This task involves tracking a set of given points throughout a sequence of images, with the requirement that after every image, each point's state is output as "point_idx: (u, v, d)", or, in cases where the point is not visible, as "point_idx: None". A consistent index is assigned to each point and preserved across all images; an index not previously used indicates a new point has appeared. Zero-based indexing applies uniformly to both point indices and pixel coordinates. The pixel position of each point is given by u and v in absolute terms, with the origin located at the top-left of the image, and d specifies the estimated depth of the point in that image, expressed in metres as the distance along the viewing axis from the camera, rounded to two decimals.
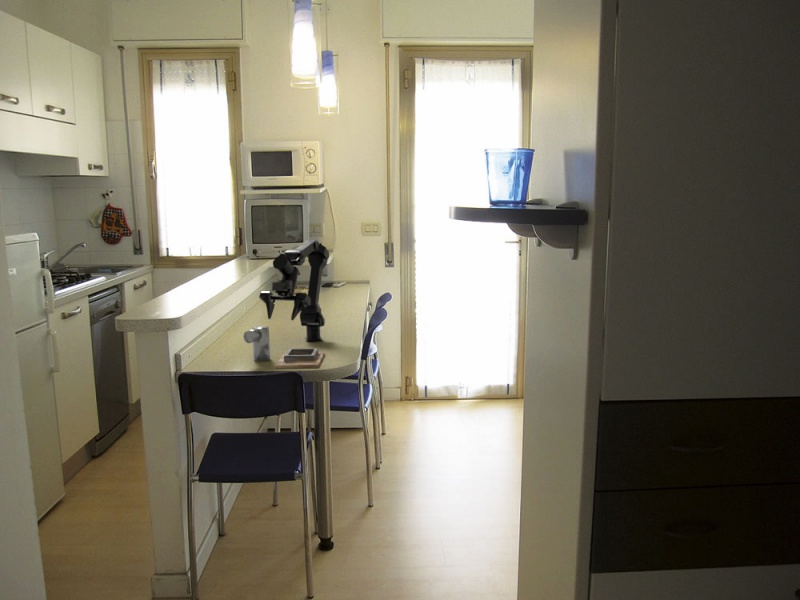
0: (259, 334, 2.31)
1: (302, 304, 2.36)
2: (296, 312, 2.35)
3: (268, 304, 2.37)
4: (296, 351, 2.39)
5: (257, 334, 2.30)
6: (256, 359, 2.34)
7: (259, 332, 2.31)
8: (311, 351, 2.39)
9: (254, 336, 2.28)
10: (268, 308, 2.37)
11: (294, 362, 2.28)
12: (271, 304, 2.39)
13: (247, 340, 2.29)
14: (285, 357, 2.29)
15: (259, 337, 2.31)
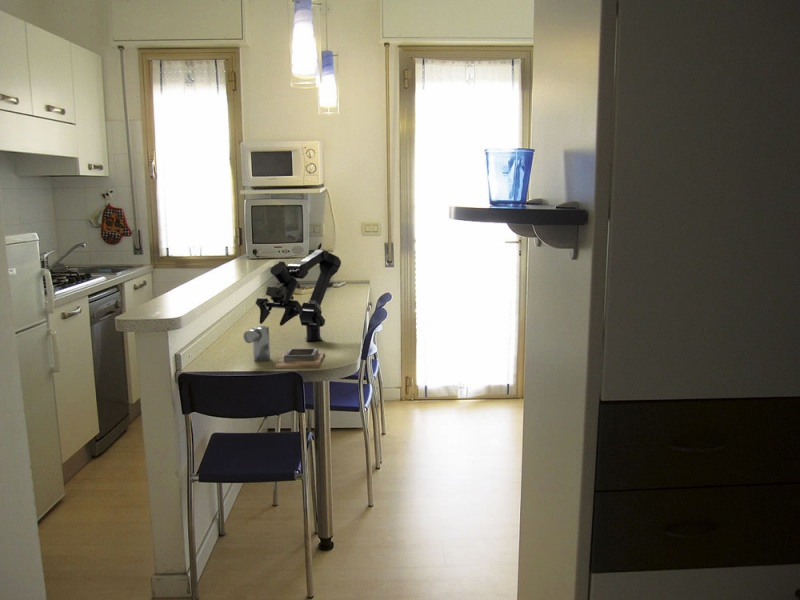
0: (259, 334, 2.31)
1: (293, 312, 2.40)
2: (286, 318, 2.39)
3: (262, 309, 2.43)
4: (296, 351, 2.39)
5: (257, 334, 2.30)
6: (256, 359, 2.34)
7: (259, 332, 2.31)
8: (311, 351, 2.39)
9: (254, 336, 2.28)
10: (261, 313, 2.43)
11: (294, 362, 2.28)
12: (266, 310, 2.45)
13: (247, 340, 2.29)
14: (285, 357, 2.29)
15: (259, 337, 2.31)
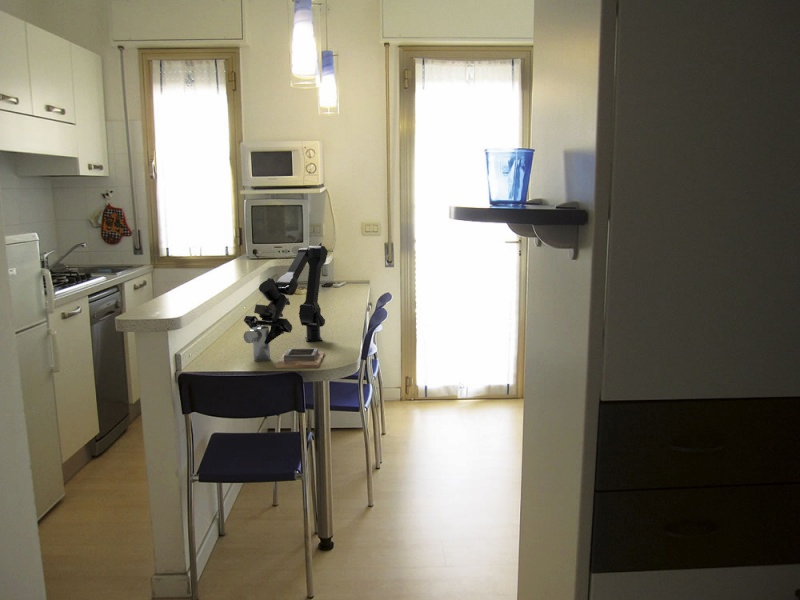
0: (259, 334, 2.31)
1: (279, 330, 2.35)
2: (271, 337, 2.34)
3: None
4: (296, 351, 2.39)
5: (257, 334, 2.30)
6: (256, 359, 2.34)
7: (259, 332, 2.31)
8: (311, 351, 2.39)
9: (254, 336, 2.28)
10: None
11: (294, 362, 2.28)
12: None
13: (247, 340, 2.29)
14: (285, 357, 2.29)
15: (259, 337, 2.31)
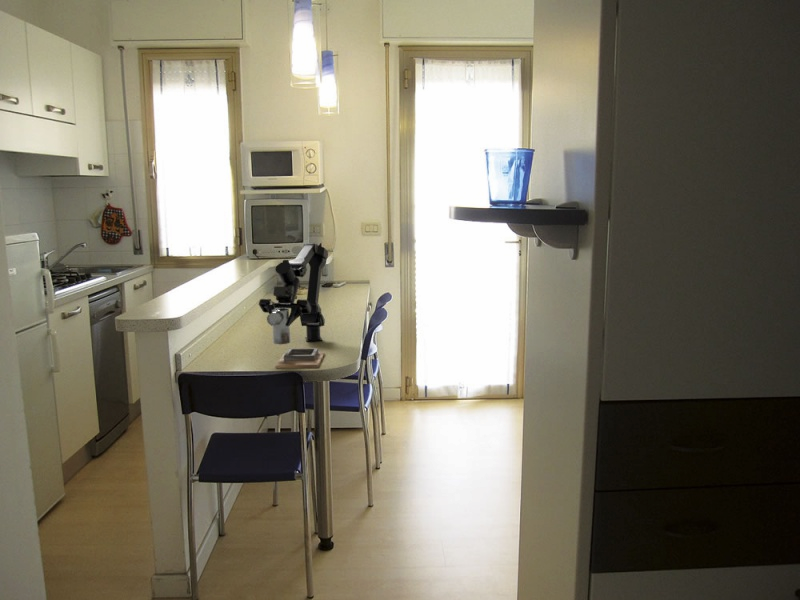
0: (282, 316, 2.28)
1: (299, 311, 2.34)
2: (292, 318, 2.32)
3: (271, 310, 2.33)
4: (296, 351, 2.39)
5: (280, 316, 2.27)
6: (277, 342, 2.31)
7: (281, 314, 2.28)
8: (311, 351, 2.39)
9: (279, 318, 2.25)
10: None
11: (294, 362, 2.28)
12: None
13: (271, 322, 2.25)
14: (285, 357, 2.29)
15: (282, 319, 2.28)
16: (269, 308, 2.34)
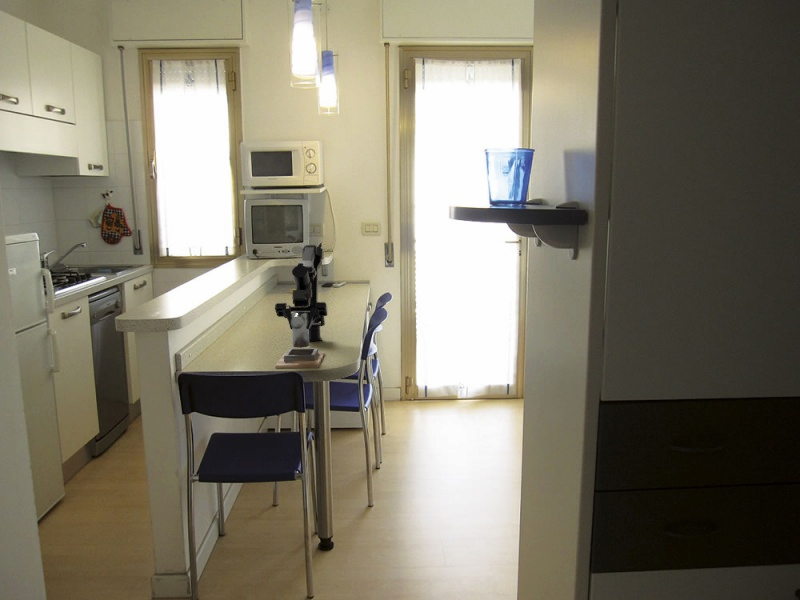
0: (304, 319, 2.29)
1: (317, 314, 2.35)
2: (312, 321, 2.33)
3: (289, 314, 2.33)
4: (296, 351, 2.39)
5: (303, 319, 2.28)
6: (299, 345, 2.31)
7: (303, 317, 2.29)
8: (311, 351, 2.39)
9: (303, 321, 2.26)
10: (289, 318, 2.33)
11: (294, 362, 2.28)
12: None
13: (295, 326, 2.26)
14: (285, 357, 2.29)
15: (304, 322, 2.29)
16: (287, 312, 2.33)
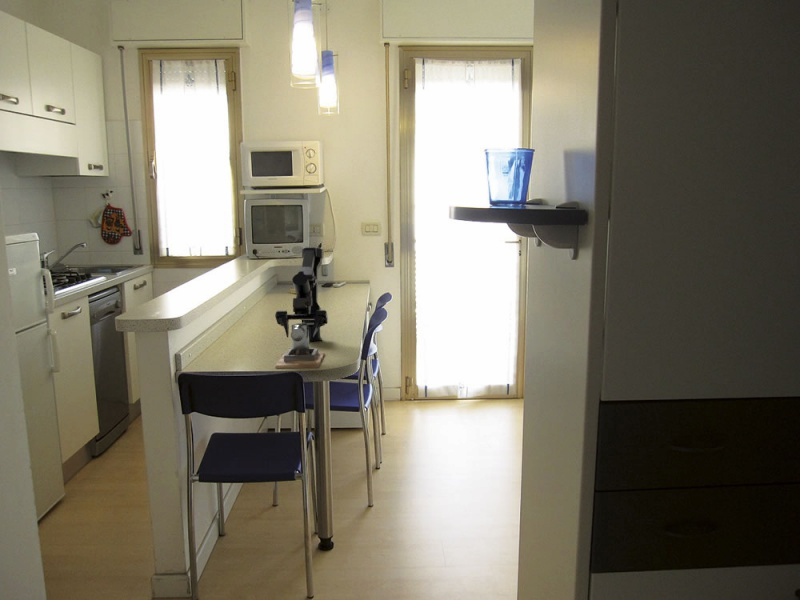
0: (304, 331, 2.30)
1: (321, 322, 2.36)
2: (316, 329, 2.34)
3: (285, 322, 2.34)
4: None
5: (303, 331, 2.28)
6: None
7: (303, 329, 2.30)
8: (311, 351, 2.39)
9: (303, 333, 2.27)
10: (286, 326, 2.33)
11: (294, 362, 2.28)
12: (287, 323, 2.36)
13: (295, 338, 2.26)
14: (285, 357, 2.29)
15: (304, 334, 2.30)
16: (283, 320, 2.34)
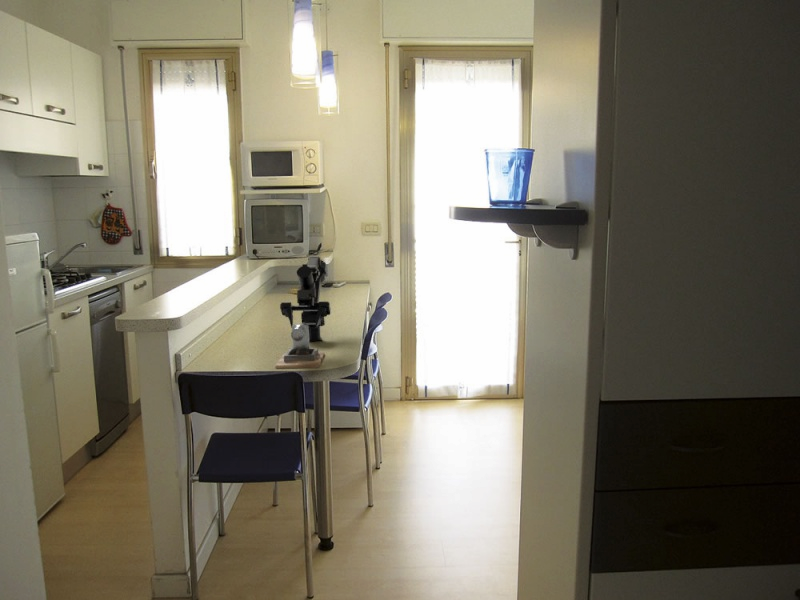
0: (305, 331, 2.30)
1: (324, 313, 2.45)
2: (319, 320, 2.43)
3: (290, 313, 2.43)
4: None
5: (304, 331, 2.29)
6: None
7: (304, 329, 2.30)
8: (311, 351, 2.39)
9: (303, 333, 2.27)
10: (290, 317, 2.42)
11: (294, 362, 2.28)
12: (292, 314, 2.45)
13: (296, 338, 2.26)
14: (285, 357, 2.29)
15: (304, 334, 2.30)
16: (288, 311, 2.43)
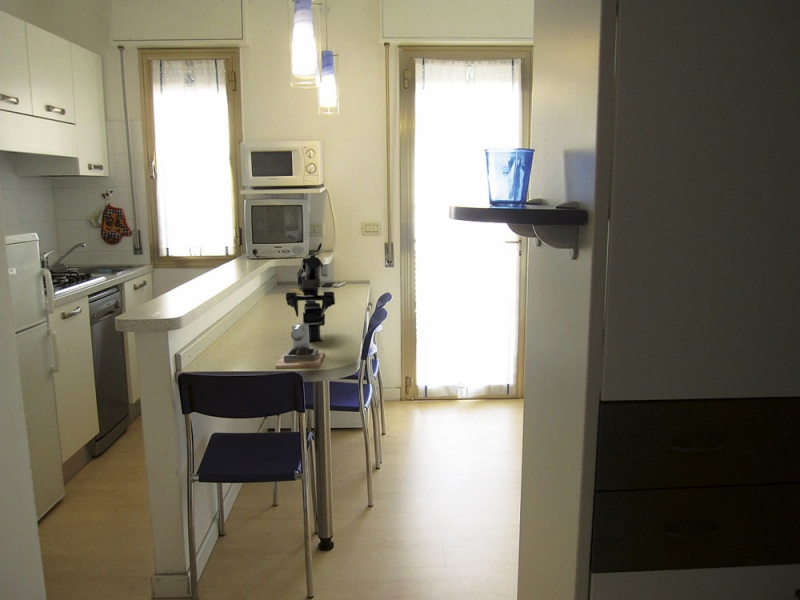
0: (305, 331, 2.30)
1: (329, 302, 2.50)
2: (324, 309, 2.47)
3: (295, 303, 2.47)
4: None
5: (304, 331, 2.29)
6: None
7: (304, 329, 2.30)
8: (311, 351, 2.39)
9: (303, 333, 2.27)
10: (296, 306, 2.47)
11: (294, 362, 2.28)
12: (297, 304, 2.49)
13: (296, 338, 2.26)
14: (285, 357, 2.29)
15: (304, 334, 2.30)
16: (293, 301, 2.47)
